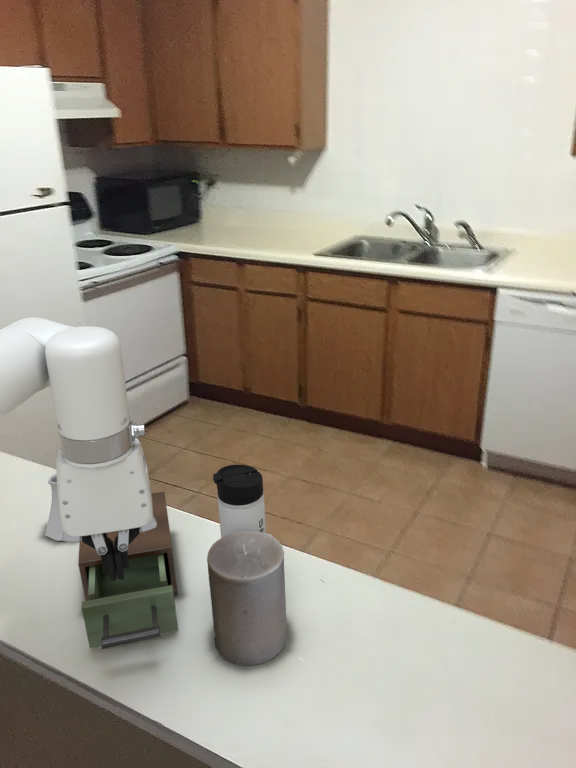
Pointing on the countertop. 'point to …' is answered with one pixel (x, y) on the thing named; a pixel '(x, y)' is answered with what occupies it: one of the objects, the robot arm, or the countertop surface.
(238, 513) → the travel mug
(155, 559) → the bin drawer
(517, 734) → the countertop surface
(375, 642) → the countertop surface
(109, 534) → the cabinet
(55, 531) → the flask
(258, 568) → the pillar candle
